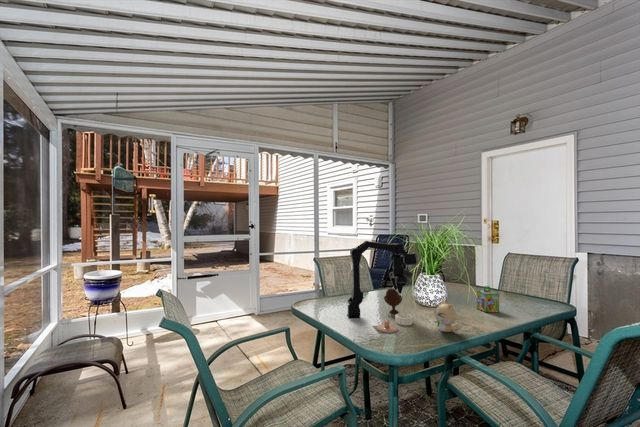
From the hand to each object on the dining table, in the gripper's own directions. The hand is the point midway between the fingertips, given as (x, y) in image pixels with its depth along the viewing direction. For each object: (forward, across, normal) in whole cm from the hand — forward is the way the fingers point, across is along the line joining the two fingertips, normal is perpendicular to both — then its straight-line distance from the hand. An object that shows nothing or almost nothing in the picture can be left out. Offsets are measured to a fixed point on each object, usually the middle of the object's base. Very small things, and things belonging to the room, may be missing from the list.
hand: (397, 291), depth 183 cm
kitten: (+14, -25, -18) cm, 34 cm away
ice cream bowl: (+14, +6, +1) cm, 15 cm away
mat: (+14, -24, +12) cm, 30 cm away
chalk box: (+14, +9, -58) cm, 61 cm away
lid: (+14, -24, +12) cm, 30 cm away
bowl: (+14, -13, 0) cm, 19 cm away
